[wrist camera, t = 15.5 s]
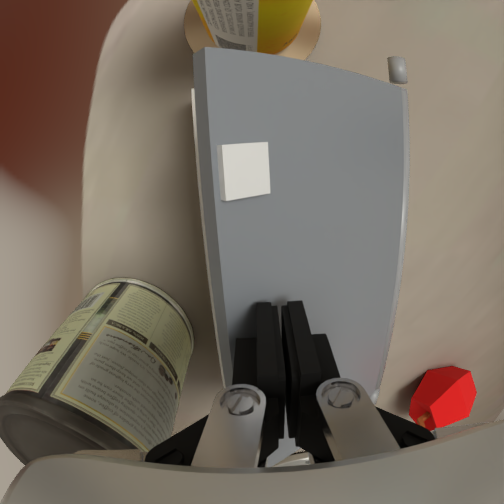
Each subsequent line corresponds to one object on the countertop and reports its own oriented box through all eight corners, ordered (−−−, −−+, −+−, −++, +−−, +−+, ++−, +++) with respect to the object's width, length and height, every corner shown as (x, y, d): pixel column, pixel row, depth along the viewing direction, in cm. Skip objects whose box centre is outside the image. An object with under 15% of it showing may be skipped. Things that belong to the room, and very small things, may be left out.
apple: (500, 377, 21) (449, 429, 18) (476, 413, 24) (426, 458, 22) (455, 338, 26) (401, 379, 24) (438, 378, 30) (388, 415, 28)
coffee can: (162, 394, 27) (125, 522, 14) (70, 336, 25) (-8, 445, 12) (220, 324, 24) (194, 486, 11) (107, 250, 22) (-11, 365, 9)
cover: (373, 380, 21) (385, 386, 20) (239, 471, 15) (251, 483, 14) (396, 90, 14) (413, 90, 14) (192, 55, 8) (209, 43, 7)
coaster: (325, 79, 18) (326, 78, 18) (187, 85, 18) (186, 84, 18) (312, -30, 15) (313, -31, 15) (184, -24, 15) (183, -25, 15)
